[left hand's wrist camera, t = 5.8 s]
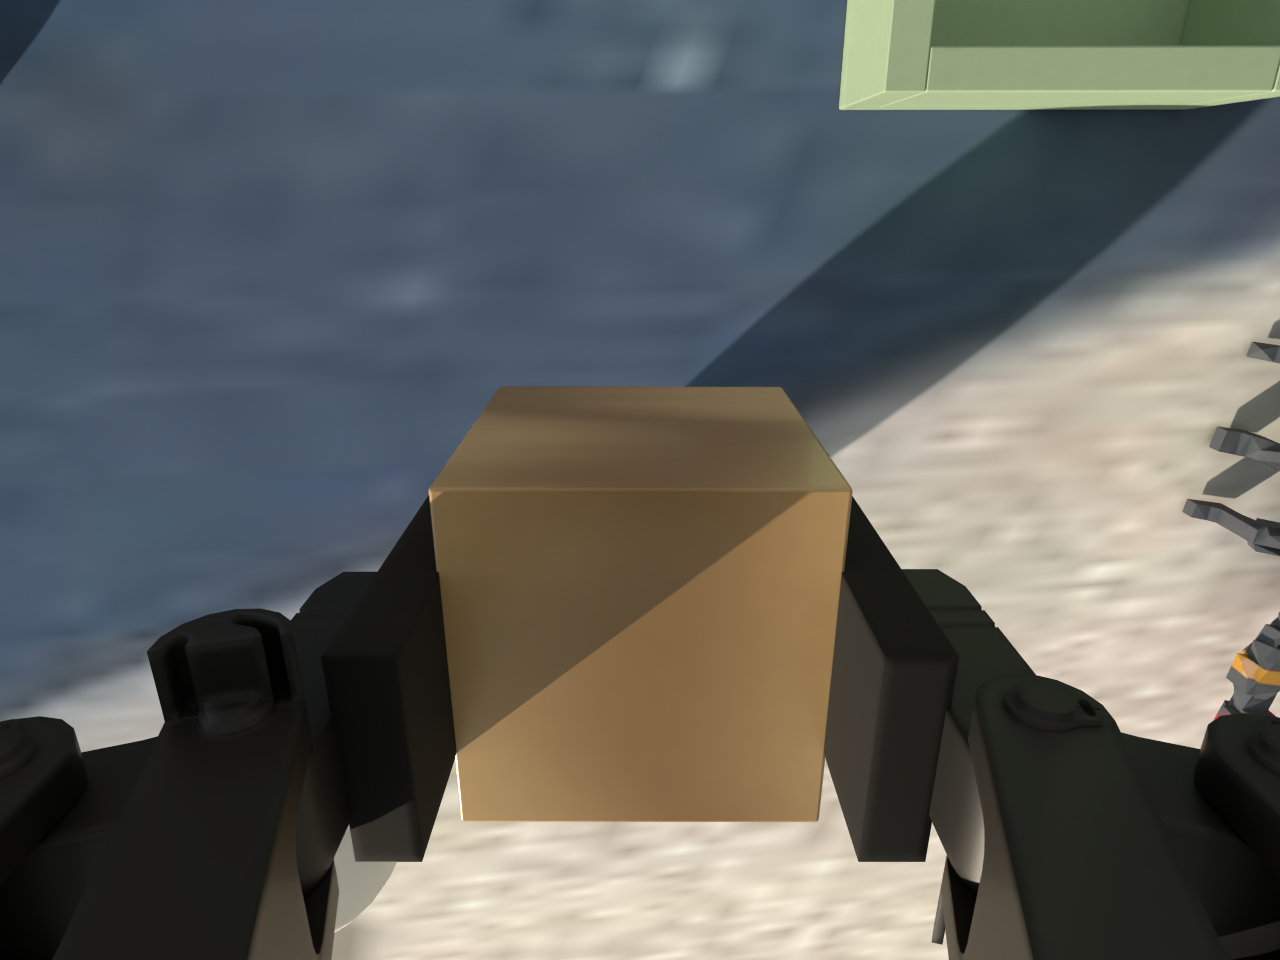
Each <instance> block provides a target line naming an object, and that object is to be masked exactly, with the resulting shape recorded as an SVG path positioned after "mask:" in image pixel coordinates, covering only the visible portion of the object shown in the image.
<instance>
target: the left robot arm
mask: <svg viewBox="0 0 1280 960" xmlns="http://www.w3.org/2000/svg"><path fill="white" fill-rule="evenodd" d="M147 654H148V658H149V662H150V665H151V669H152V673H153V677H154V681H155V685H156V689H157V693H158V697H159V700H160V704H161V708H162V712H163V716H164V720H165V723H164V725H163V727H162V729H161V731H160V733H159V736H158V737H154V738H150V739H146V740H142V741H137V742H132V743H127V744H122V745H117V746H112V747H107V748H102V749H97V750H92V751H87V752H82V753H81V750H80V747H79V744H78V741H77V737H76V734H75V731H74V728H73V727H71V726H70V725H69V724H67V723H66V722H65V721H63V720H62V719H55V718H48V717H41V716H39V717H31V718H22V719H11V720H6V721H2V722H0V960H331V957H332V949H333V940H334V932H335V923H336V915H337V906H338V897H339V886H338V880H337V873H336V868H335V862H334V857H335V854H336V852H337V850H338V848H339V846H340V843H341V841H342V839H343V837H344V834H345V832H346V830H347V828H348V826H349V827H350V833H351V839H352V845H353V851H354V857H355V862H422V860H423V857H424V854H425V851H426V848H427V844H428V841H429V838H430V835H431V832H432V829H433V826H434V823H435V819H436V816H437V813H438V810H439V807H440V804H441V801H442V797H443V794H444V791H445V788H446V785H447V782H448V779H449V776H450V772H451V769H452V766H453V763H454V760H455V757H456V754H457V750H456V740H455V730H454V720H453V710H452V700H451V690H450V680H449V670H448V660H447V650H446V640H445V630H444V619H443V609H442V599H441V589H440V579H439V572H437V570H436V560H435V550H434V540H433V530H432V520H431V510H430V499H429V496H428V497H427V499H426V500H425V502H424V503H423V505H422V506H421V508H420V509H419V511H418V512H417V514H416V515H415V517H414V518H413V520H412V521H411V523H410V524H409V526H408V527H407V529H406V530H405V532H404V533H403V535H402V536H401V538H400V539H399V541H398V542H397V544H396V545H395V547H394V548H393V550H392V551H391V553H390V554H389V556H388V557H387V559H386V560H385V562H384V563H383V565H382V566H381V568H380V569H379V570H378V572H343V573H341V574H339V575H338V576H336V577H334V578H333V579H331V580H330V581H328V582H326V583H325V584H323V585H321V586H320V587H318V588H317V589H315V591H314V592H313V593H312V594H311V596H310V597H309V598H308V599H307V601H306V602H305V603H304V604H303V606H302V607H301V608H300V613H296V615H295V616H294V617H293V618H292V620H291V621H290V620H289V619H288V618H286V617H285V616H283V615H282V614H281V613H279V612H274V611H269V610H264V609H235V610H230V611H225V612H219V613H214V614H209V615H206V616H203V617H201V618H198V619H195V620H193V621H190V622H187V623H184V624H182V625H180V626H178V627H177V628H175V629H173V630H172V631H170V632H168V633H167V634H165V635H163V636H161V637H160V638H159V639H158V640H157V641H156V642H155V643H154V644H153V646H152V647H151V648H150V649H149V650H148V651H147ZM824 755H825V758H826V761H827V764H828V768H829V771H830V774H831V777H832V780H833V783H834V786H835V789H836V793H837V796H838V799H839V802H840V805H841V808H842V811H843V814H844V818H845V821H846V824H847V827H848V830H849V833H850V836H851V840H852V843H853V846H854V849H855V852H856V855H857V858H858V861H859V862H925V860H926V854H927V848H928V842H929V836H930V830H931V824H932V823H933V825H934V827H935V829H936V831H937V834H938V836H939V838H940V840H941V842H942V845H943V847H944V849H945V851H946V853H947V857H946V862H945V868H944V873H943V879H942V885H941V890H940V896H939V901H938V907H937V912H936V918H935V924H934V930H933V936H932V942H933V943H938V944H942V943H943V938H944V933H945V930H946V938H947V947H948V955H949V960H1280V718H1278V717H1274V716H1264V715H1256V714H1247V713H1238V714H1230V715H1223V716H1219V717H1218V718H1217V719H1215V720H1214V721H1213V722H1211V723H1210V724H1209V725H1208V727H1207V730H1206V733H1205V737H1204V740H1203V743H1202V746H1201V749H1196V748H1191V747H1186V746H1181V745H1176V744H1171V743H1166V742H1161V741H1156V740H1151V739H1146V738H1141V737H1137V736H1133V735H1129V734H1125V733H1121V732H1120V730H1119V728H1118V726H1117V724H1116V722H1115V720H1114V719H1113V718H1112V716H1111V715H1110V714H1109V712H1108V711H1107V710H1106V709H1105V707H1104V706H1103V705H1102V704H1100V703H1099V702H1098V701H1096V700H1095V699H1093V698H1092V697H1090V696H1089V695H1087V694H1086V693H1085V692H1083V691H1081V690H1079V689H1077V688H1074V687H1072V686H1070V685H1067V684H1065V683H1063V682H1060V681H1058V680H1054V679H1050V678H1045V677H1041V676H1037V675H1036V674H1035V673H1034V672H1033V671H1032V669H1031V668H1030V667H1029V666H1028V664H1027V663H1026V662H1025V661H1024V659H1023V658H1022V657H1021V656H1020V654H1019V653H1018V652H1017V651H1016V649H1015V648H1014V647H1013V646H1012V644H1011V643H1010V642H1009V641H1008V639H1007V638H1006V637H1005V636H1004V634H1003V633H1002V632H1001V630H1000V629H999V628H998V627H995V623H994V622H993V620H992V619H991V618H990V617H989V615H988V614H987V613H986V612H985V610H981V605H980V604H979V603H978V602H977V600H976V599H975V598H974V597H973V595H972V594H971V593H970V592H969V590H968V589H967V588H966V587H965V586H964V585H962V584H961V583H959V582H957V581H956V580H954V579H952V578H951V577H949V576H947V575H946V574H944V573H943V572H941V571H939V570H938V569H901V568H900V567H899V565H898V564H897V562H896V561H895V559H894V558H893V556H892V555H891V553H890V552H889V550H888V549H887V547H886V546H885V544H884V543H883V541H882V540H881V538H880V537H879V535H878V534H877V532H876V531H875V529H874V528H873V526H872V525H871V523H870V522H869V520H868V519H867V517H866V516H865V514H864V513H863V511H862V510H861V508H860V507H859V505H858V504H857V502H856V501H855V499H854V498H853V496H852V502H851V511H850V521H849V531H848V541H847V550H846V560H845V570H844V572H842V576H841V586H840V596H839V606H838V616H837V626H836V636H835V646H834V656H833V666H832V676H831V686H830V696H829V706H828V716H827V726H826V736H825V746H824Z"/></svg>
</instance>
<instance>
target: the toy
mask: <svg viewBox="0 0 1280 960" xmlns="http://www.w3.org/2000/svg"><path fill="white" fill-rule="evenodd" d="M1247 357H1252V358H1257V359H1262V360H1266V361H1271V362H1276V363H1280V346H1279V345H1272V344H1265V343H1258V342H1252V344H1251V347H1250V349H1249V351H1248V354H1247ZM1209 447H1211V448H1213V449H1215V450H1217V451H1220V452H1225V453H1230V454H1235V455H1240V456H1244V457H1248V458H1251V459H1255V460H1258V461H1261V462H1263V463H1265V464H1268V465H1270V466H1272V467H1274V468H1276V469H1278V470H1280V444H1279V443H1277V442H1274V441H1272V440H1270V439H1267V438H1265V437H1263V436H1260V435H1257V434H1254V433H1251V432H1248V431H1245V430H1238V429H1231V428H1224V427H1217V429H1216V431H1215V434H1214V436H1213V439H1212V441H1211V444H1210V446H1209ZM1183 512H1184V513H1186V514H1187V515H1189V516H1190V517H1194V518H1199V519H1204V520H1208V521H1212V522H1216V523H1218V524H1220V525H1221V526H1223V527H1225V528H1226V529H1228V530H1230V531H1232V532H1233V533H1235V534H1237V535H1239V536H1240V537H1242V538H1244V539H1246V540H1247V541H1248V545H1249V546H1251V547H1252V548H1253V549H1254V550H1255V551H1257V552H1262V553H1267V554H1272V555H1278V556H1280V523H1278V522H1273V521H1268V520H1264V519H1259V518H1257V519H1256V520H1253V519H1251V518H1249V517H1246V516H1244V515H1242V514H1240V513H1238V512H1236V511H1234V510H1232V509H1230V508H1228V507H1226V506H1225V505H1223V504H1221V503H1213V502H1206V501H1199V500H1191V499H1187V502H1186V504H1185V507H1184V509H1183ZM1226 678H1228V679H1229V680H1230V681H1231V682H1232V683H1233V685H1234V694H1233V696H1232V698H1231V700H1230V701H1226V700H1225V701H1224V703H1223V705H1222V706H1221V708H1220V710H1219V711H1218V713H1217V715H1216V717H1215V719H1217V718H1218V717H1219V716H1223V715H1230V714H1238V713H1247V714H1256V715H1264V716H1274V717H1276V716H1275V715H1274V714H1272V713H1271V712H1270V711H1269V710H1268V709H1269V707H1270V706H1271V704H1272V702H1273V700H1274V698H1275V696H1276V695H1277V693H1278V692H1279V691H1280V612H1279V615H1278V618H1276V619H1275V620H1274V621H1273V622H1272V623H1271V625H1269V624H1266V625H1265V626H1264V628H1263V629H1262V631H1261V632H1260V634H1259V635H1258V636H1257V638H1256V639H1255V640H1253V642H1252V643H1251V644H1250V645H1249V646H1247V647H1246V648H1245V649H1244V650H1242V653H1241V654H1239V653H1237V655H1236V657H1235V660H1234V662H1233V664H1232V666H1231V668H1230V670H1229V672H1228V674H1227V677H1226ZM1215 719H1214V720H1215Z"/></svg>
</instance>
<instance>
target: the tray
mask: <svg viewBox="0 0 1280 960" xmlns="http://www.w3.org/2000/svg"><path fill="white" fill-rule="evenodd" d="M1279 96H1280V0H848V2H847V14H846V27H845V39H844V52H843V64H842V77H841V89H840V102H839V109H840V110H1186V109H1193V108H1198V107H1207V106H1214V105H1221V104H1229V103H1236V102H1243V101H1250V100H1257V99H1265V98H1272V97H1279Z"/></svg>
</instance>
